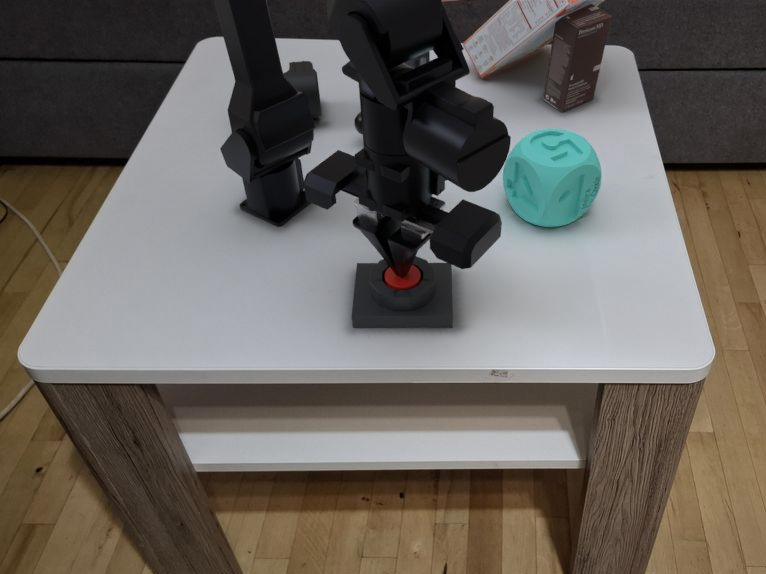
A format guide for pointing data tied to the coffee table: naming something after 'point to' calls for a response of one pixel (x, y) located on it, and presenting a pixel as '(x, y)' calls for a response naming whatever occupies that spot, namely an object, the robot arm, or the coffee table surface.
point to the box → (576, 57)
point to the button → (403, 279)
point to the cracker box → (517, 31)
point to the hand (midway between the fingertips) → (402, 274)
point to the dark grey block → (306, 84)
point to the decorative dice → (552, 177)
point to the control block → (403, 298)
